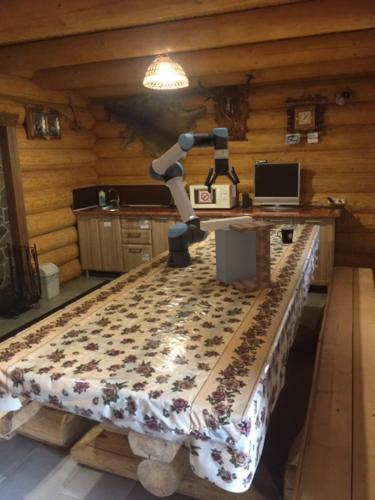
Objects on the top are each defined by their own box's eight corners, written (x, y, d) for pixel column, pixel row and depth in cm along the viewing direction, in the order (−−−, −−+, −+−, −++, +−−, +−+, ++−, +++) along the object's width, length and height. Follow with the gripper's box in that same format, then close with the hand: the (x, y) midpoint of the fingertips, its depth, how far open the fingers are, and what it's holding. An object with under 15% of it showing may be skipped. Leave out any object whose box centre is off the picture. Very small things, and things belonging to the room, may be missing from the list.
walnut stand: (242, 292, 194) (240, 228, 187) (230, 285, 205) (229, 224, 198) (276, 286, 199) (276, 224, 192) (263, 279, 210) (262, 220, 203)
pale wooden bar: (204, 231, 201) (203, 222, 200) (200, 229, 206) (199, 221, 205) (252, 225, 210) (252, 217, 209) (247, 223, 214) (247, 215, 213)
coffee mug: (292, 241, 291) (292, 226, 288) (294, 243, 282) (294, 229, 280) (275, 241, 292) (275, 227, 290) (277, 244, 284) (277, 229, 281)
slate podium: (226, 283, 207) (224, 230, 201) (216, 277, 218) (214, 226, 212) (256, 278, 212) (256, 226, 206) (245, 272, 224) (244, 222, 217)
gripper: (202, 159, 216) (204, 200, 221) (245, 156, 225) (246, 196, 229) (197, 159, 223) (198, 199, 228) (239, 156, 231) (240, 195, 236)
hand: (222, 198), depth 229 cm, fingers open, 13 cm apart
